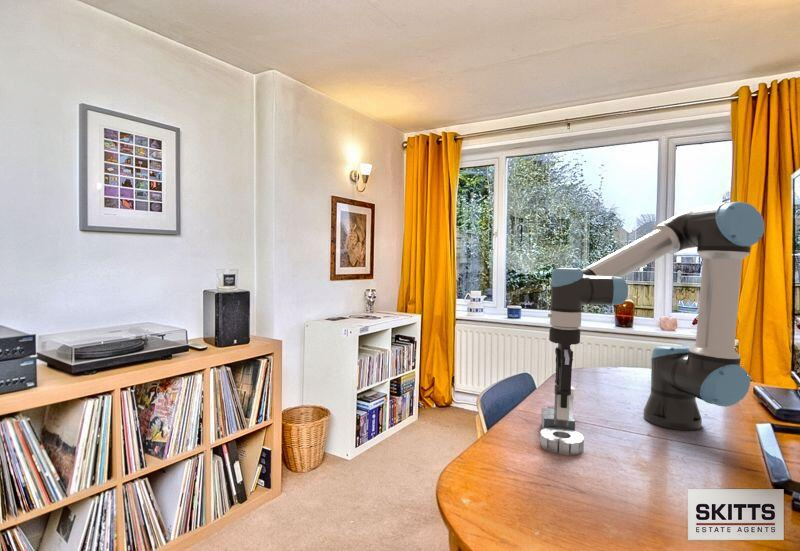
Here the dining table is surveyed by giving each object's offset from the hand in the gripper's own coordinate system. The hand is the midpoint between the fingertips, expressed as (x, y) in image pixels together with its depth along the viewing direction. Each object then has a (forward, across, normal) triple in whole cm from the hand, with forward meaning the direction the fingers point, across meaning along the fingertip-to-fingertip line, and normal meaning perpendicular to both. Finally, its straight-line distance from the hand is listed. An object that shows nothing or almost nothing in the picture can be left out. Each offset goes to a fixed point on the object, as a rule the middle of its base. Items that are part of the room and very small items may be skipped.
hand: (561, 416), depth 115 cm
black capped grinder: (+2, 0, 0) cm, 2 cm away
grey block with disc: (+8, -6, 0) cm, 10 cm away
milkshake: (+8, -26, +5) cm, 28 cm away
